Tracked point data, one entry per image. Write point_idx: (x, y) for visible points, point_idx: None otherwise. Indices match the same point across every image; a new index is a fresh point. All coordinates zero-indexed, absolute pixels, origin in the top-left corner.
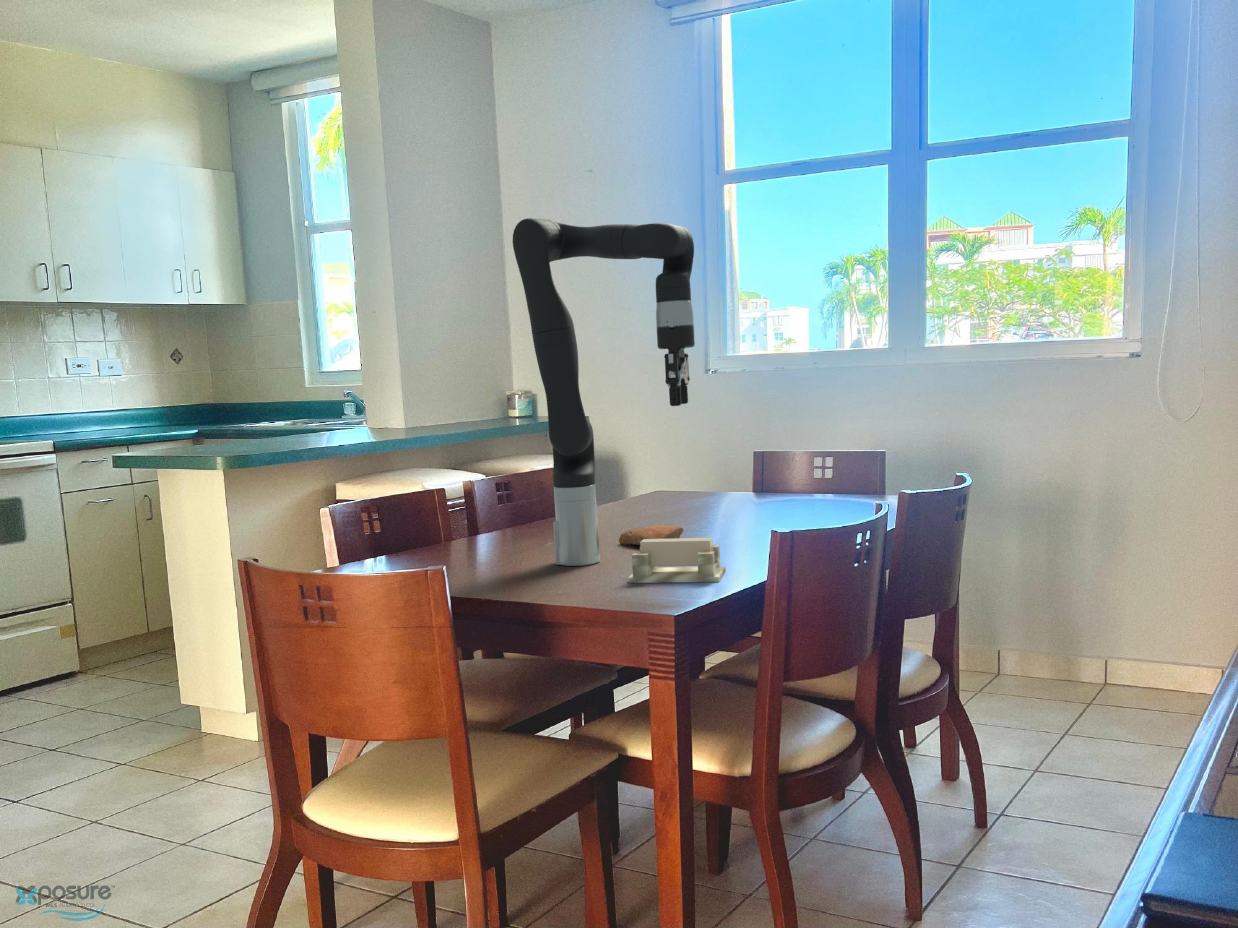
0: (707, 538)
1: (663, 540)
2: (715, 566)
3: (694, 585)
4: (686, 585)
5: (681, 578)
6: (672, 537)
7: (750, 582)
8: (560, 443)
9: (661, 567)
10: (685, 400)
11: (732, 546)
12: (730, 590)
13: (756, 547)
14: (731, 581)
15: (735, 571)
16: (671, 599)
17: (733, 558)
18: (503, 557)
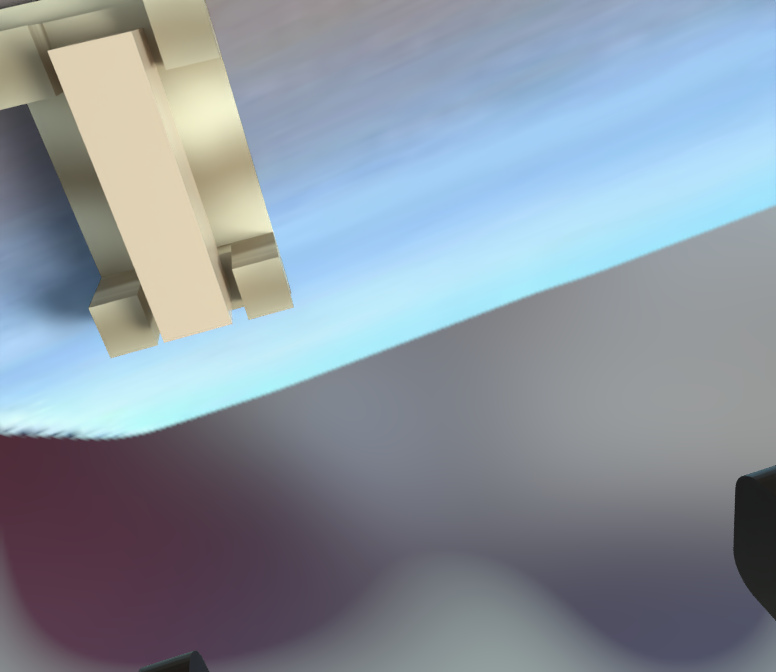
0: (211, 313)
1: (121, 149)
2: None
3: (50, 279)
4: (39, 254)
5: (78, 220)
6: None
7: (152, 417)
8: None
9: (224, 68)
10: (766, 584)
11: (715, 140)
12: (24, 409)
13: (689, 230)
14: (148, 362)
15: (297, 316)
16: None
17: (503, 228)
18: None
